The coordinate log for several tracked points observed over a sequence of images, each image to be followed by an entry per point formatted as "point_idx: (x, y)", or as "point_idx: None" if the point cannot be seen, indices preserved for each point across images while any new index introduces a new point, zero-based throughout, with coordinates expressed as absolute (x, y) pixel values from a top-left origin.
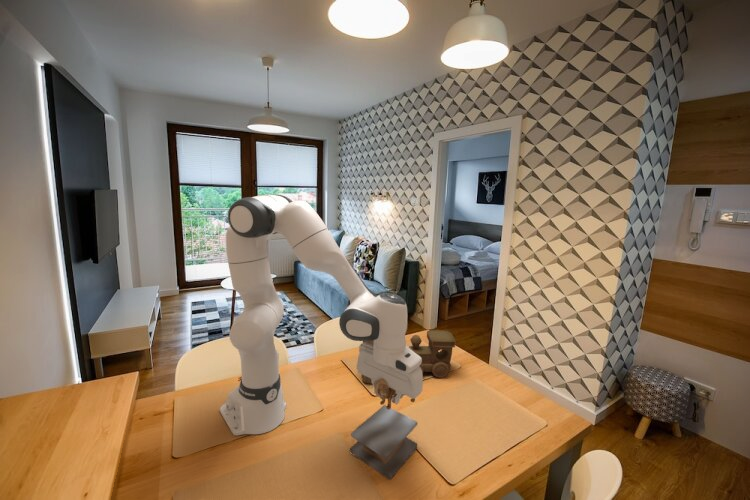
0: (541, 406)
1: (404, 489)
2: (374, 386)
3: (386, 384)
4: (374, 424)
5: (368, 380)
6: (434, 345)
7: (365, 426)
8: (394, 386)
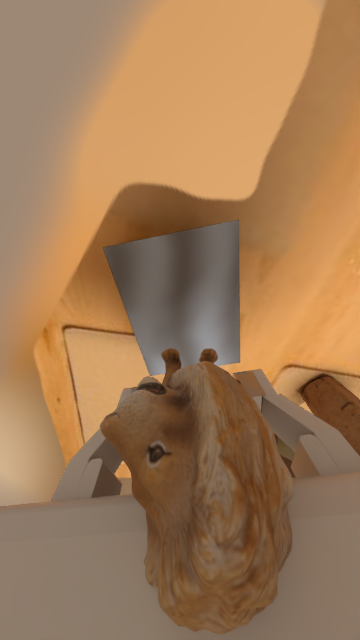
0: None
1: (91, 260)
2: (283, 405)
3: (148, 539)
4: (211, 301)
5: (321, 384)
6: None
7: (223, 277)
8: (45, 571)
